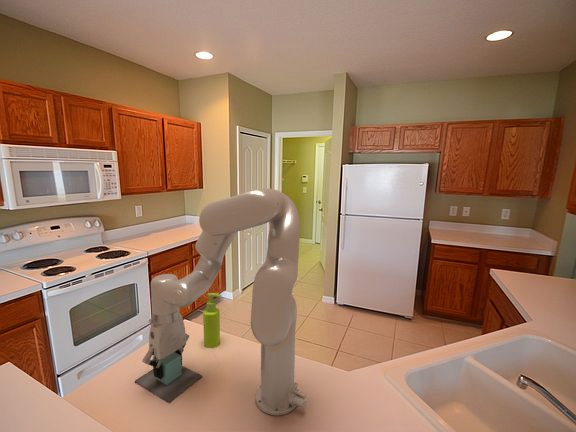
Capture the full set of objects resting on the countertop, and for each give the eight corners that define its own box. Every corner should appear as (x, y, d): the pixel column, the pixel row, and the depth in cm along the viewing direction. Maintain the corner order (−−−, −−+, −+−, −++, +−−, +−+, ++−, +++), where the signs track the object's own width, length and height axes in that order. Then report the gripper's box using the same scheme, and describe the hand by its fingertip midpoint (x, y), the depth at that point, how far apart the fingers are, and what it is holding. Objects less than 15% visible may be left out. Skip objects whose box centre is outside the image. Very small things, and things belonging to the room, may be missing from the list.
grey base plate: (202, 377, 86) (201, 356, 85) (169, 403, 76) (168, 380, 75) (168, 360, 94) (168, 341, 93) (134, 382, 84) (133, 361, 83)
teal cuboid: (181, 374, 86) (180, 355, 85) (166, 385, 81) (165, 364, 80) (170, 368, 88) (169, 349, 87) (156, 378, 84) (155, 358, 83)
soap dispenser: (218, 349, 100) (217, 297, 98) (201, 347, 102) (199, 296, 99) (225, 340, 106) (224, 291, 104) (208, 338, 108) (207, 289, 105)
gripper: (146, 332, 73) (150, 393, 75) (197, 307, 88) (198, 358, 90) (130, 325, 77) (134, 383, 79) (181, 302, 92) (183, 351, 94)
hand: (168, 369), depth 84 cm, fingers open, 6 cm apart
